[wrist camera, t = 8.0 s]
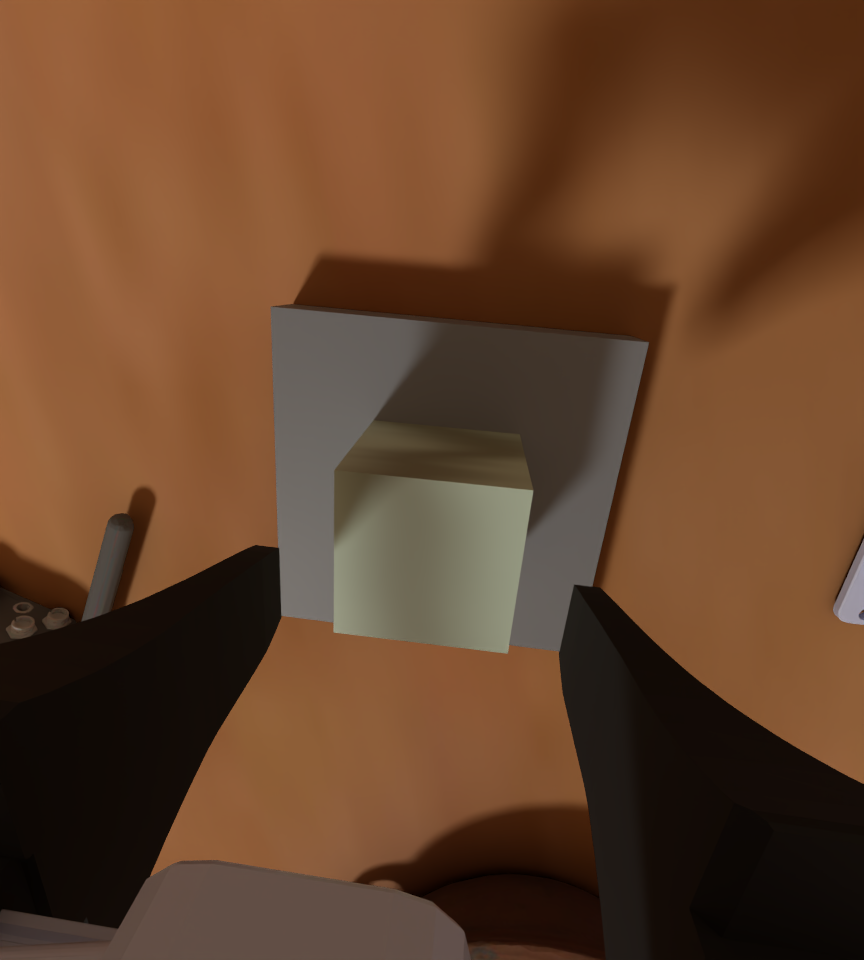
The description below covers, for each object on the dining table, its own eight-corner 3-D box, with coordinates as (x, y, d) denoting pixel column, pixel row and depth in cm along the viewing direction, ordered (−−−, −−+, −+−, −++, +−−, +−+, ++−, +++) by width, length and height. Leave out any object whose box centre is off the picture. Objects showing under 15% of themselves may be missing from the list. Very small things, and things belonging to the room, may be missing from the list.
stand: (631, 335, 18) (648, 342, 16) (568, 622, 22) (576, 653, 20) (292, 304, 18) (270, 306, 16) (296, 588, 23) (280, 615, 21)
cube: (519, 434, 17) (533, 490, 13) (501, 562, 19) (507, 653, 14) (373, 420, 18) (334, 470, 13) (369, 548, 19) (333, 632, 15)
